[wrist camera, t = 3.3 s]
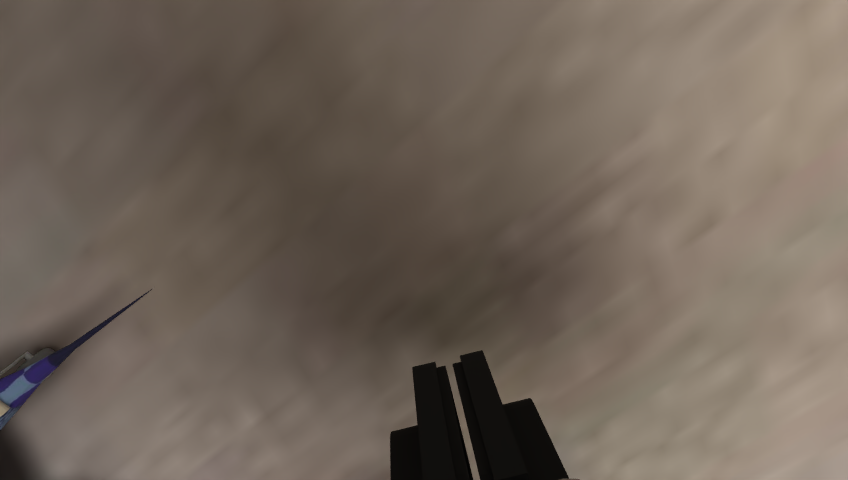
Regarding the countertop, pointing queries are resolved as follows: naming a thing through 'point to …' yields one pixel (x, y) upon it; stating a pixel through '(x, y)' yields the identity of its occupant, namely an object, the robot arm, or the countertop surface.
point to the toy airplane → (36, 372)
